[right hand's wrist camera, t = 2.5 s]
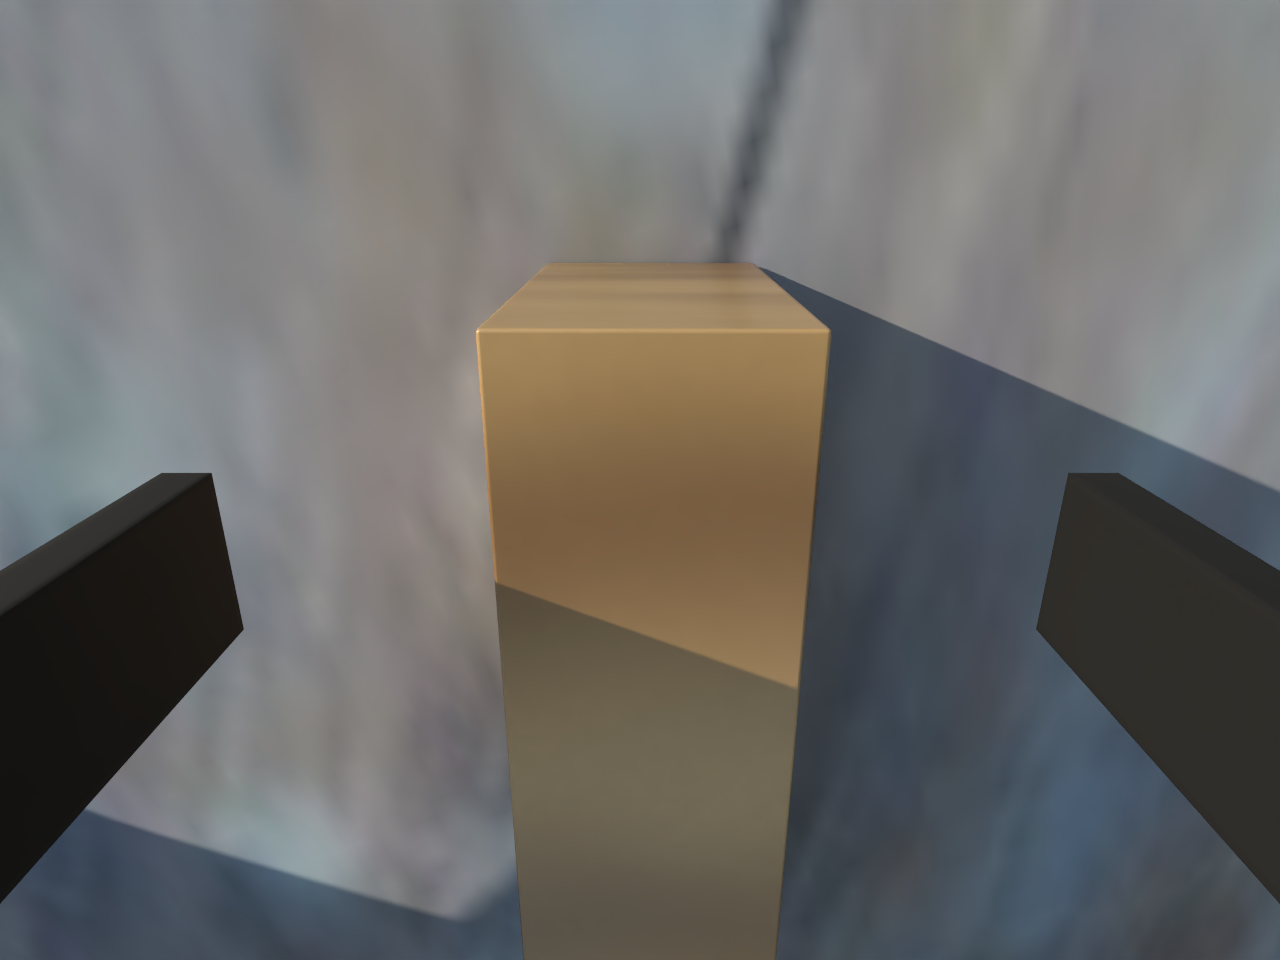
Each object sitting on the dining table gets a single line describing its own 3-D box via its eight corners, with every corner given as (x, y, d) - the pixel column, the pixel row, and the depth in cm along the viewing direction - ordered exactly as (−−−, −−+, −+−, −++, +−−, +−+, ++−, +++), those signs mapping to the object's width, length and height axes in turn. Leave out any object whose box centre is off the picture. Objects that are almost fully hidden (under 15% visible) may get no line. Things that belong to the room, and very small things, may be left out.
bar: (547, 262, 18) (474, 328, 11) (755, 263, 18) (833, 329, 11) (576, 951, 27) (546, 1268, 19) (719, 952, 27) (748, 1271, 19)
